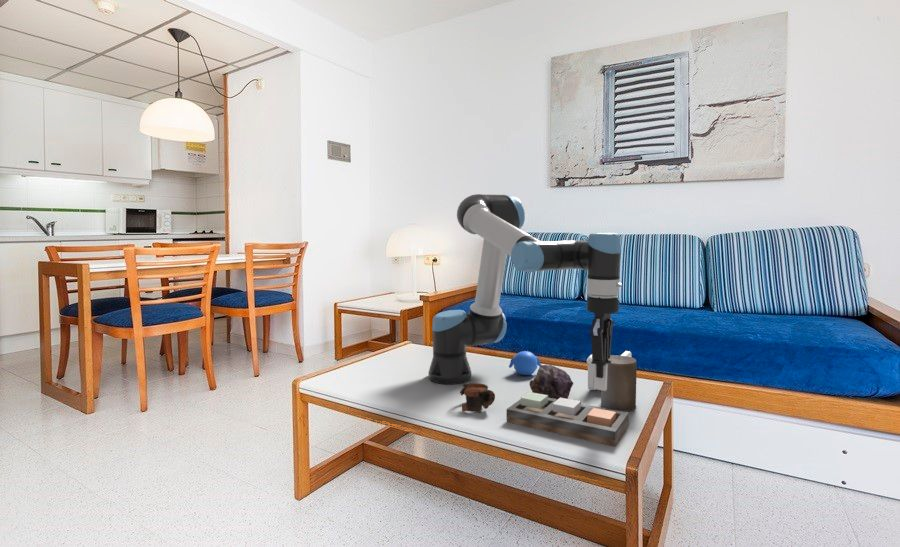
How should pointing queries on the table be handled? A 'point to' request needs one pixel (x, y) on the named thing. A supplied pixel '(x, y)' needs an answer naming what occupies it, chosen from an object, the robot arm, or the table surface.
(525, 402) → the sage key
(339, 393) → the table surface
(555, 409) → the white key
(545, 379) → the rock
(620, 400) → the pillar candle
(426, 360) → the table surface
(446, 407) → the table surface
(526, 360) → the blue rounded piece
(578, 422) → the keypad
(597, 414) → the orange square block
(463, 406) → the pottery mug
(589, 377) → the cable organizer
